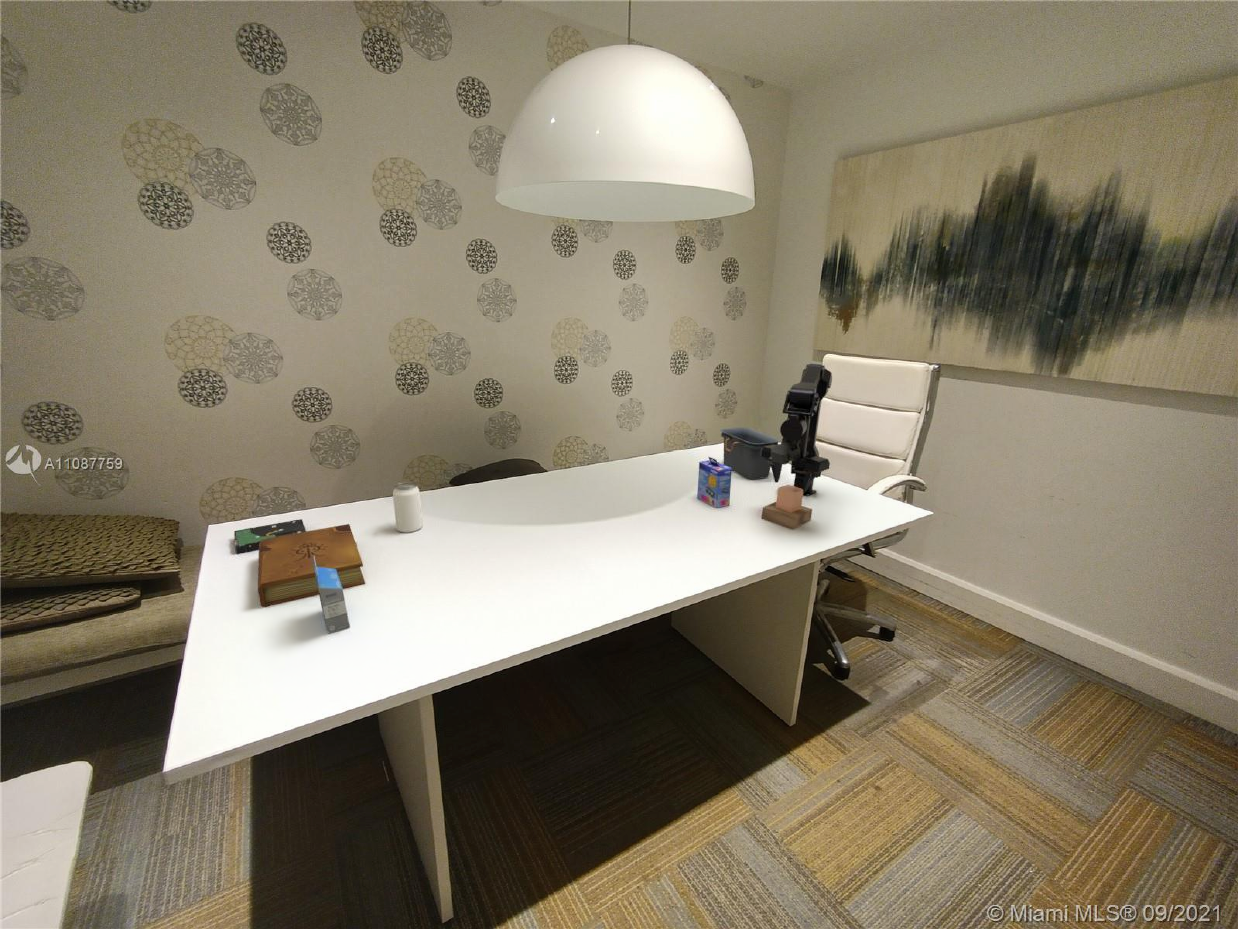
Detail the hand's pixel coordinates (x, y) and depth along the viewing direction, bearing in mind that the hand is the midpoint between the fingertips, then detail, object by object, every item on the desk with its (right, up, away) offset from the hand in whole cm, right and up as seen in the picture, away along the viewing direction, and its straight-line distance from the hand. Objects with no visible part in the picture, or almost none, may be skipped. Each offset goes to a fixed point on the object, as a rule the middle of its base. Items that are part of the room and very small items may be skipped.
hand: (790, 486), depth 151 cm
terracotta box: (0, -6, +2) cm, 7 cm away
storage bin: (-3, +3, +45) cm, 45 cm away
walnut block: (0, -10, +3) cm, 11 cm away
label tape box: (-102, -23, -50) cm, 116 cm away
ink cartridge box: (-19, -5, +15) cm, 25 cm away
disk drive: (-135, -13, -18) cm, 137 cm away
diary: (-117, -18, -32) cm, 122 cm away
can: (-104, -11, -9) cm, 105 cm away
